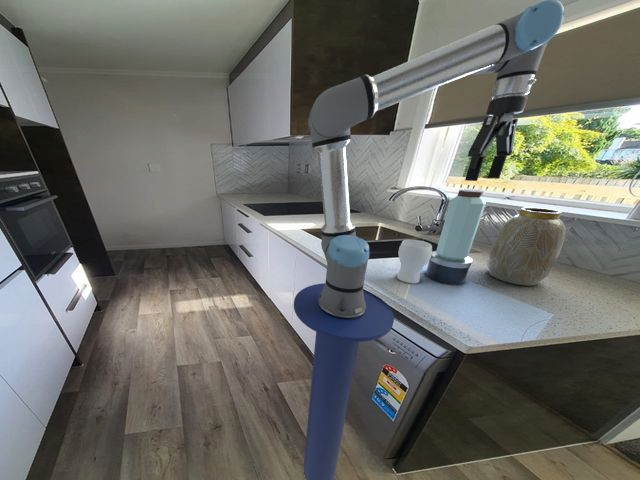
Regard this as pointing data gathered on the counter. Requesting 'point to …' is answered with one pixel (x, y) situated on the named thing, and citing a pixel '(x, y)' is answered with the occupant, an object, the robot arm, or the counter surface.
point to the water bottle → (461, 225)
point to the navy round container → (448, 269)
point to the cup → (413, 259)
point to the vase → (527, 247)
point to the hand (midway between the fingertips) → (482, 179)
